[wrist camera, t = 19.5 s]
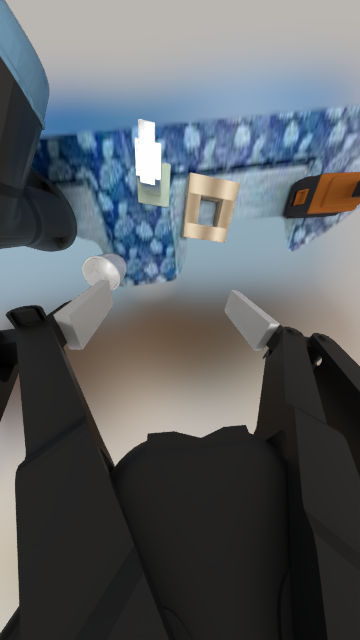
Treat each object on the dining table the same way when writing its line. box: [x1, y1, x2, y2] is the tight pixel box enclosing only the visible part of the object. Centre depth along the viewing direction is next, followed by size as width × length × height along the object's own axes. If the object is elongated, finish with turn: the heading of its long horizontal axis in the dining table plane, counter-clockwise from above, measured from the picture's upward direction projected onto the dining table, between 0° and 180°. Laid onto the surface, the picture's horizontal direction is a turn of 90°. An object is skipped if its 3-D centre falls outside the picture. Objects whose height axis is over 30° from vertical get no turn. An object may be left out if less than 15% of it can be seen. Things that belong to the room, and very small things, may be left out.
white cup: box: [82, 253, 127, 291], centre depth 34 cm, size 8×8×10 cm
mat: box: [137, 163, 171, 208], centre depth 29 cm, size 7×7×1 cm
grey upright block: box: [135, 119, 162, 197], centre depth 23 cm, size 4×6×14 cm, turn 174°
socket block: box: [182, 173, 240, 242], centre depth 32 cm, size 11×11×4 cm
